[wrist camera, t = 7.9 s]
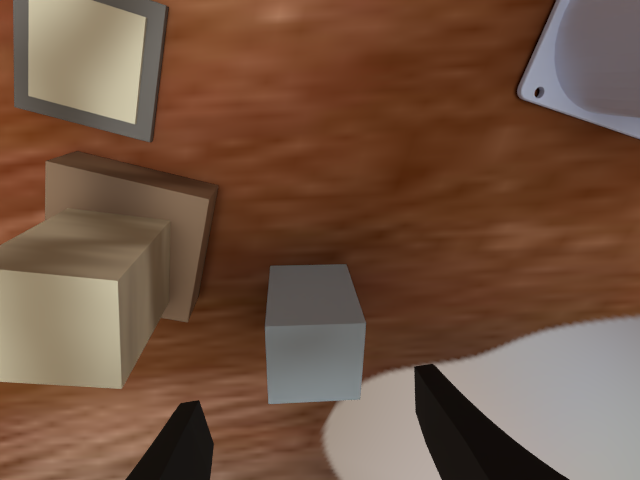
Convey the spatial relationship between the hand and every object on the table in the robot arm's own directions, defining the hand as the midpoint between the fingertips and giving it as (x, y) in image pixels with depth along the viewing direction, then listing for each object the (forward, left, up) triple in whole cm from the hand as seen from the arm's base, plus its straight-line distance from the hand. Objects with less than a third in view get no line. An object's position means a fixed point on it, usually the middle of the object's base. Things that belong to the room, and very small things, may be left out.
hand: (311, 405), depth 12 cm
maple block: (+9, 0, -8) cm, 12 cm away
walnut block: (+9, 0, -11) cm, 14 cm away
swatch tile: (+12, -8, -10) cm, 18 cm away
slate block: (-1, +2, -10) cm, 11 cm away
